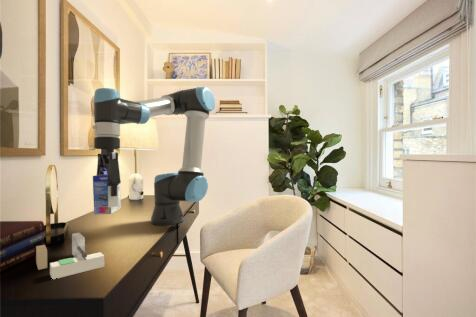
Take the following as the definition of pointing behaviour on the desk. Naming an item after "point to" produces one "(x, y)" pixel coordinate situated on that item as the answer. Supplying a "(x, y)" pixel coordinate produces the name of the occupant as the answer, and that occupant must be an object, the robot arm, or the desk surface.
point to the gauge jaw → (78, 245)
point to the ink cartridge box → (103, 194)
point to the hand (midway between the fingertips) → (107, 204)
